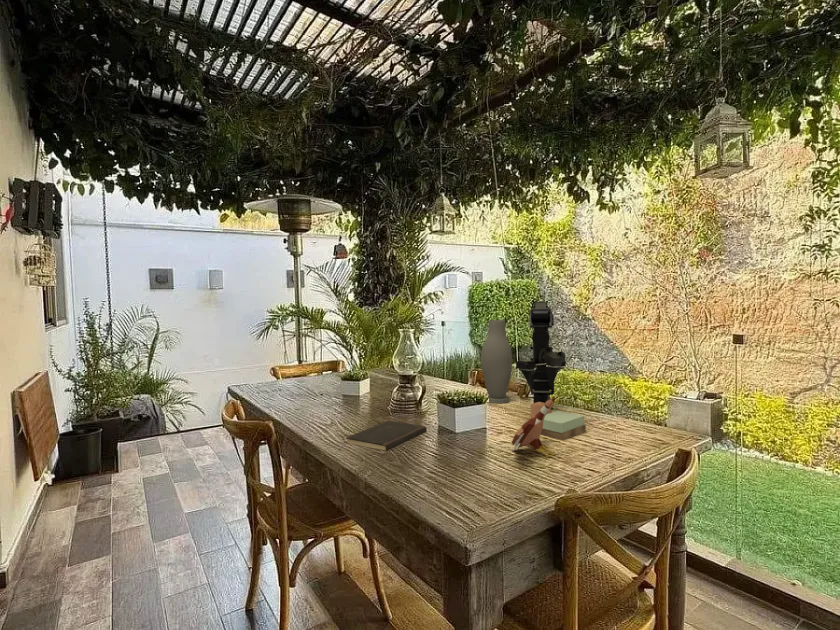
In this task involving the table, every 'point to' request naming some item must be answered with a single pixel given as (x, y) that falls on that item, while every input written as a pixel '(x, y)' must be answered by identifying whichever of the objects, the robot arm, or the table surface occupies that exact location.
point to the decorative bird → (533, 431)
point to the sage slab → (562, 421)
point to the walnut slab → (564, 433)
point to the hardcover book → (386, 435)
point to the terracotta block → (537, 408)
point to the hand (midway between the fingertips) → (541, 387)
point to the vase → (496, 362)
